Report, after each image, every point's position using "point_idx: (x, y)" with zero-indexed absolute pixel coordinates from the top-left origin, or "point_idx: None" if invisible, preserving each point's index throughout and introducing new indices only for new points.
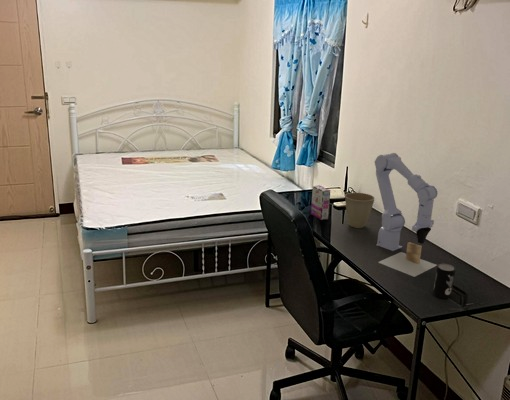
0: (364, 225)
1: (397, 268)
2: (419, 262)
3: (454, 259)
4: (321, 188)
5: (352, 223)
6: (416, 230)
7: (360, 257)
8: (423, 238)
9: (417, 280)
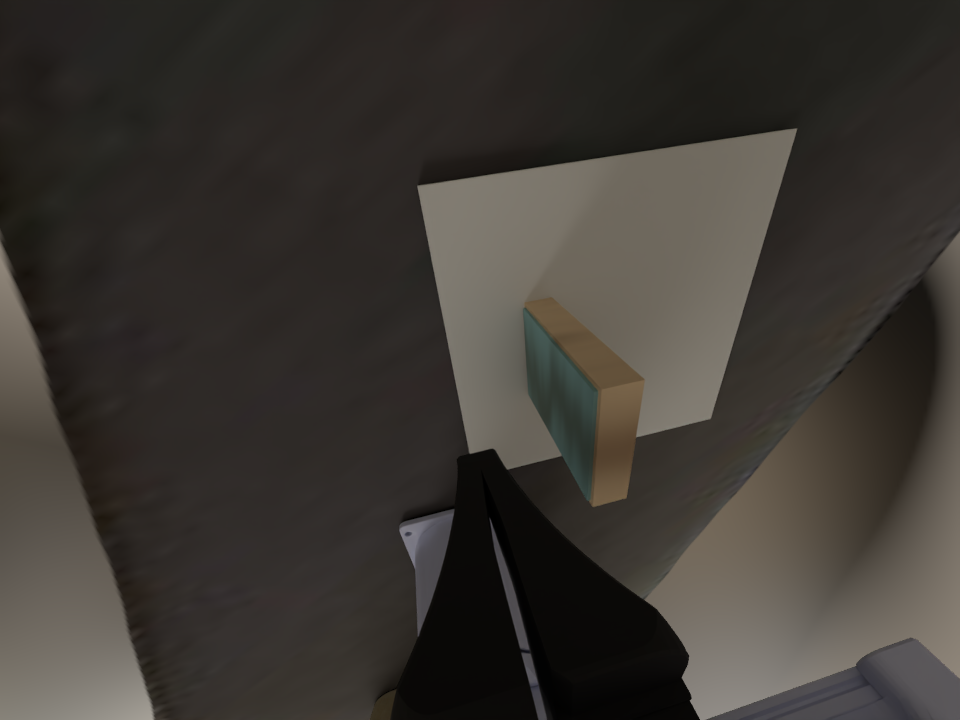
0: (386, 701)
1: (723, 310)
2: (529, 304)
3: (64, 203)
4: None
5: None
6: (937, 674)
7: (692, 485)
8: (532, 503)
9: (819, 73)
